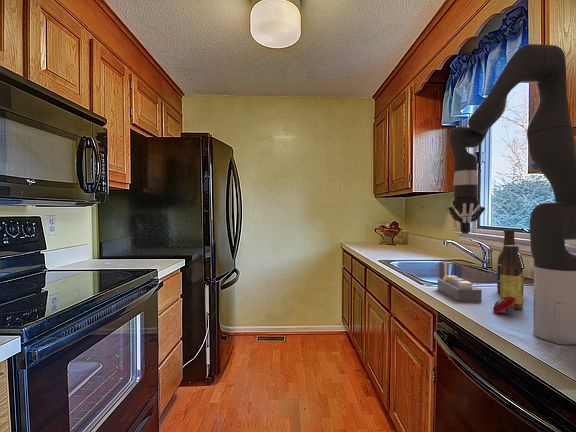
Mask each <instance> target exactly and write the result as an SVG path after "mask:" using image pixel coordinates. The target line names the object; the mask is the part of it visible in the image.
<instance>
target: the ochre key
mask: <svg viewBox="0 0 576 432" xmlns="http://www.w3.org/2000/svg"><path fill="white" fill-rule="evenodd" d="M451 278H460V277H458V276H457V275H445V279H446V281H447V282H451Z"/></svg>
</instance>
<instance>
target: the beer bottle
mask: <svg viewBox="0 0 576 432" xmlns="http://www.w3.org/2000/svg"><path fill="white" fill-rule="evenodd" d="M503 233H504V235H503V236H504V237H503V247H502V251H501V252H500V253H499V255H498V257H497V275H496V276H497V279H496V280H497V282H496V283H497V285H496V286H497V287H496V288H497V293H498V294H500V266H501V264H502V263H503V261H504V245H514V246H516V244H515V233H516V231H515V229H508V228H506V229H504V230H503ZM518 259H519V262H520V264H522V263H521V257H520V255H519V254H518Z"/></svg>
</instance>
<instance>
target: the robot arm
mask: <svg viewBox="0 0 576 432" xmlns="http://www.w3.org/2000/svg"><path fill="white" fill-rule="evenodd" d="M520 83H529V84H536V87H537V91H538V104H537V107H536V109H535V112H534V113H533V115H532V117H531V118H530V121H529V122H528V126H527V128H526V140H527V146H528V152H529V156H530V158H531V160H532V161H533V162H532V163H534V165H535V166H536V167H537V169H539V171H540V172H541V174H543V176H544V177H545V178H546V179H547V181H548V182H549V184H550V185H551V188H552V189H551V190H552V192H553V196H554V200H555V201H549V202H548V201H546V202H541V203H538V204H536V205H535V207H534V208H533V209H532V211H531V214H530V218H529V237H530V241H529V242H530V252H531V255H532V258H533V260H534V261H533V265H534V267H533V316H532V317H533V318H532V319H533V321H532V322H533V327H532V328H533V329H532V331H533V332H532V333H533V335H534V336H535V337H537V338H539V339H542V340H544V341H547V342H551V343H554V344H557V345H576V255H575V254H573V253H571V252H570V251H568V250H567V247H566V242H565V241H576V143H575V135H574V129H573V125H572V121H571V115H570V108H569V107H570V106H569V101H568V100H569V99H568V91H567V90H568V89H567V88H568V86H567V63H566V56H565V52H564V50H563V48H561V47H560V46H558V45H553V44H542V43H541V44H538V43H532V44H528V43H527V44H525V45H522V46H521V47H520V48H518V49H517V50H516V51H515V52H514V54H513V55H512V56H511V58H510V59H509V61H508V62H507V63H506V65H505V66H504V69H503V70H502V71H501V74H500V75H499V76H498V79H497V80H496V82H495V83H494V85H493V87H492V89H491V90H490V91H489V93H488V95H486V97H485V99H484V100H483V102H481V104H480V105H479V106H478V108H476V109H475V111H474V112H473V113H472V114H471V116H470V117H469V118H468V121H467V124H468V126H456V127H455V128H453V129H451V131H450V132H449V133H450V134H449V138H448V139H449V146H450V148H451V152H452V155H453V159H454V174H453V182H452V183H453V200H452V204H451V205H450V206H447V207H446V208H445V209H446V211H447V212H448V214H449V215H450V216H451V218H452V219H453V220H454V221H455V222H458V223H459V232H461V234H463V235H466V234H467V235H468V234H469V233H470V232H471V223H472V222H476V221H477V220H478V219H479V218H480V217H481V215H482V214H483V213H484V211H485V210H486V208H485V206H482V205H480V204H479V203H480V202H479V200H478V196H479V176H478V175H479V173H478V156H477V155H476V154H473V153H470V152H469V151H467V149H466V148H470V149H471V148H476V147H478V146H480V145H481V144H482V143H483V141H484V139H485V138H486V135H487V134H488V132H489V130H490V128H491V127H492V126H494V124H496V122H497V121H498V120H499V119H500V118H501V117H502V115H503V114H504V112H505V111H506V108H507V101H508V95H509V94H510V93H511V91H512V90H513V89H514V88H515V87H516V86H518V85H519V84H520Z"/></svg>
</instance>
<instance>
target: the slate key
mask: <svg viewBox="0 0 576 432" xmlns="http://www.w3.org/2000/svg"><path fill="white" fill-rule="evenodd" d="M458 281H466V280H465V279H463V278H460V277H459V278H451V284H453V285H458Z"/></svg>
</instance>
